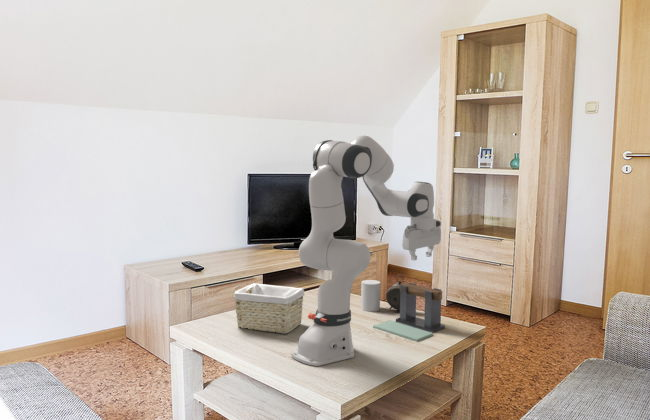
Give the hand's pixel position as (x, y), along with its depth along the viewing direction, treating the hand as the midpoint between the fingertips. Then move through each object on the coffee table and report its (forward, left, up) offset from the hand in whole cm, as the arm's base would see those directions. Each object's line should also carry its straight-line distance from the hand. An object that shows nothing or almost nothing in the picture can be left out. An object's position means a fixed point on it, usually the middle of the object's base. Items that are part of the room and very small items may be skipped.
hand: (421, 258), depth 209 cm
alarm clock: (+8, +17, -27) cm, 33 cm away
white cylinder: (+2, +28, -27) cm, 39 cm away
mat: (-11, 0, -27) cm, 29 cm away
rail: (0, 0, -15) cm, 15 cm away
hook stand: (0, 0, -27) cm, 27 cm away
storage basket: (-44, +40, -27) cm, 66 cm away
